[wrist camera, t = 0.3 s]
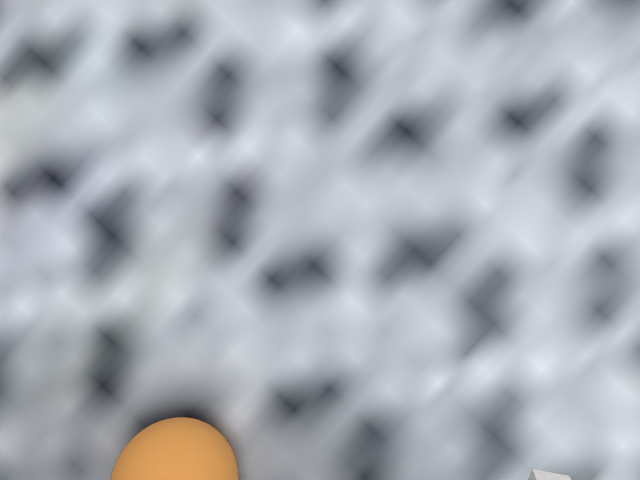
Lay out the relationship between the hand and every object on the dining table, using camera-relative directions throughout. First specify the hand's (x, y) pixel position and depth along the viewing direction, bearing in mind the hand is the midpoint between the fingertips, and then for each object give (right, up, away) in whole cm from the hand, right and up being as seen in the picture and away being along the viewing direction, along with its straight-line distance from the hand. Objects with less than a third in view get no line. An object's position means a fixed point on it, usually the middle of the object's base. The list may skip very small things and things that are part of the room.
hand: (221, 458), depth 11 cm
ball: (-4, -6, +11) cm, 14 cm away
